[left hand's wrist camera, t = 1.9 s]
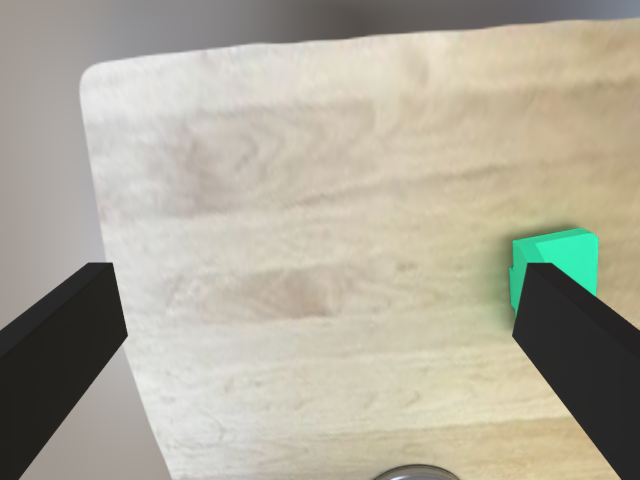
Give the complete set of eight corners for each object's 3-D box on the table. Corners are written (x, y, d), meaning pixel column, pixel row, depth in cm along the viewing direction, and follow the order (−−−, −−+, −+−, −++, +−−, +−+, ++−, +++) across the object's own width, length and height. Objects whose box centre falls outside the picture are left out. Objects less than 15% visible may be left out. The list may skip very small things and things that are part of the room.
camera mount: (579, 319, 46) (648, 382, 36) (512, 331, 46) (562, 396, 37) (582, 222, 41) (661, 264, 32) (507, 236, 42) (563, 282, 32)
